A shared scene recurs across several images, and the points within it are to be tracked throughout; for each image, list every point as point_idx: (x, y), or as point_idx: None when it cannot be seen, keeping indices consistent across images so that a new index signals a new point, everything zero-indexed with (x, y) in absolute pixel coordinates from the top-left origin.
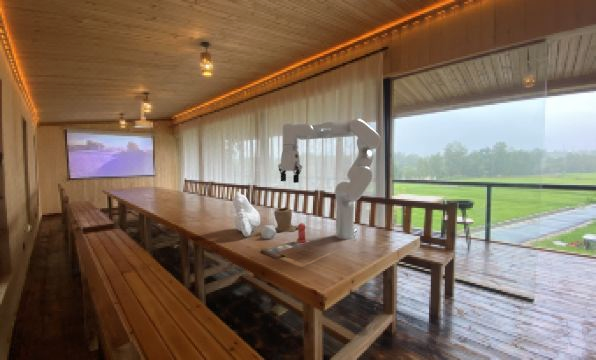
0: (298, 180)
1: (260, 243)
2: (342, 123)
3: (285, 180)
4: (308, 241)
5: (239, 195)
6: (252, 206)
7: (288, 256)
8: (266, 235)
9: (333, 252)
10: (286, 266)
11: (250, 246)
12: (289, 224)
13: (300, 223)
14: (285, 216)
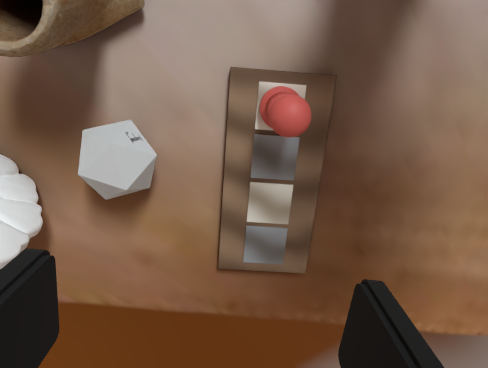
0: (391, 301)
1: (143, 207)
2: None
3: (49, 266)
4: (305, 88)
5: None
6: None
7: (318, 236)
8: (139, 190)
9: (437, 106)
10: None
11: (144, 250)
12: None
13: (286, 123)
14: (76, 25)
